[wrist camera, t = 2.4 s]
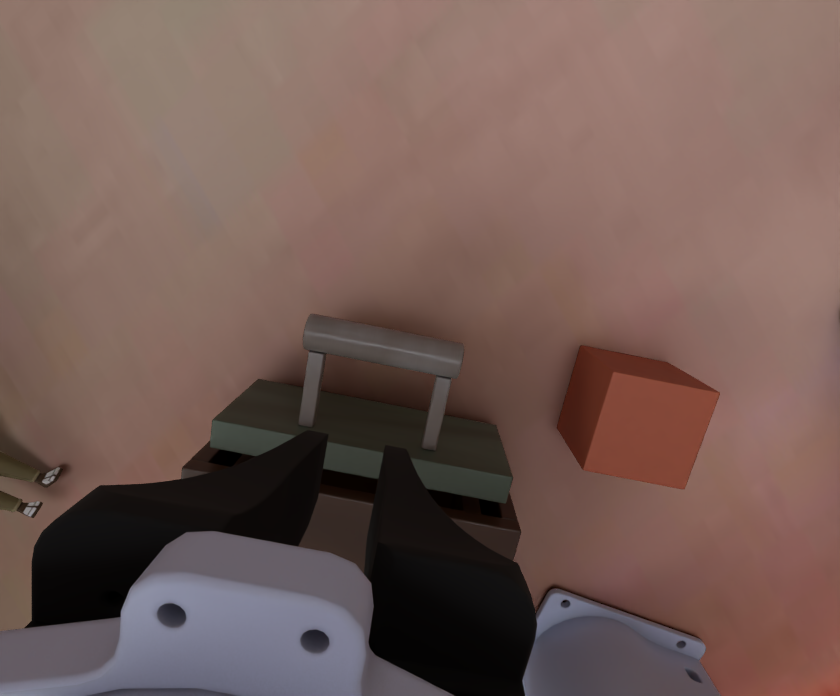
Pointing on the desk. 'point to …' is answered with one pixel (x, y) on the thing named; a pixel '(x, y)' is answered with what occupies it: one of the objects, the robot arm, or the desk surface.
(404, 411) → the drawer
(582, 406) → the block
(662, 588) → the desk surface
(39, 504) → the samurai figurine
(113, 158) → the desk surface
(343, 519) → the cabinet
